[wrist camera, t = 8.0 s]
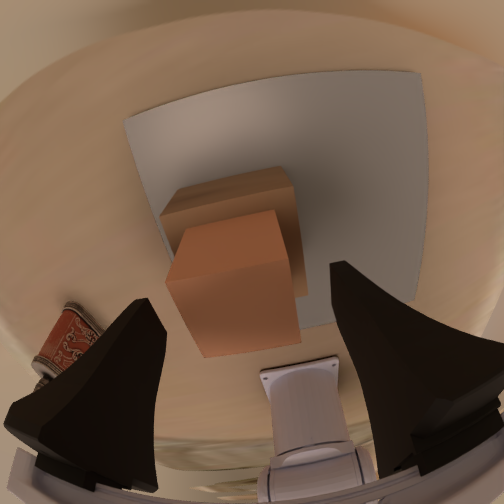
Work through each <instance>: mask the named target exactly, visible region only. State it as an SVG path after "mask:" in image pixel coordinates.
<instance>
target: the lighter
mask: <svg viewBox="0 0 504 504" xmlns="http://www.w3.org/2000/svg"><path fill="white" fill-rule="evenodd" d="M61 312H62V314H61V316H60V318H59V319H58V321H57V323H56V324H55V326H54V328H53V329H52V331H51V333H50V334H49V336H48V338H47V340H46V341H45V343H44V345H43V347H42V349H41V351H40V352H39V354H38V355H37V356H35V357H34V359H33V361H32V363H31V366H32V368H33V369H34V370H35V372H36V373H37V374H38V375H39V376H40V377H41V378H42V379H41V380H39V383H37V385H36V387H35V389H34V391H33V392H35V391H36V390H38V389H39V388H41V387H43V386H44V385H46V384H47V383H49V382H50V381H51V380H53V379H54V378H55V377H57V376H58V375H59V374H60V373H62V372H63V371H64V370H66V369H67V368H68V367H69V366H70V365H72V364H73V363H74V362H75V361H76V360H77V359H78V358H79V357H80V356H82V355H83V354H84V353H85V352H86V351H87V350H88V349H89V348H90V346H91V345H92V344H93V343H94V342H95V341H96V340H97V339H98V338H99V337H100V336H101V335H102V334H103V333H104V332H105V331H104V330H103V329H102V328H101V326H100V325H99V324H98V323H97V322H96V321H95V319H94V318H93V317H92V316H91V315H90V314H89V313H88V312H87V311H86V310H85V309H84V308H83V307H82V306H81V305H80V304H78V303H76V302H68V303H66V305H65V306H64V308H63V309H62V311H61Z"/></svg>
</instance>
